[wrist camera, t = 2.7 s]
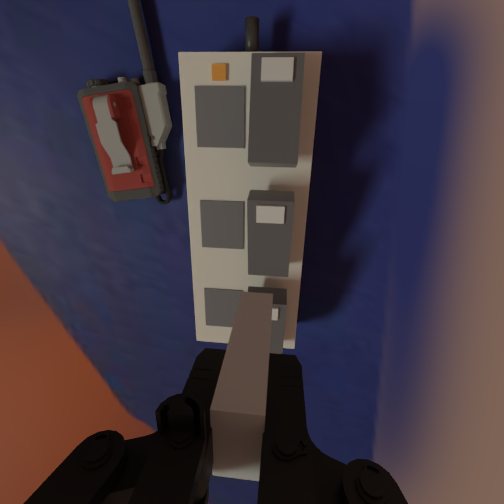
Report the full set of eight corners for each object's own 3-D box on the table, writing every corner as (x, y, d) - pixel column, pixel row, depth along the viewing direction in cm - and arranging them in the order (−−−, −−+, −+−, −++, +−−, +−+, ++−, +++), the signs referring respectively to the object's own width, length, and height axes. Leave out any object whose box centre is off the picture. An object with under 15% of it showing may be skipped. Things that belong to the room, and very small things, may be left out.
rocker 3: (248, 286, 29) (245, 303, 27) (286, 288, 29) (286, 306, 27) (248, 337, 34) (246, 355, 32) (282, 339, 34) (282, 358, 31)
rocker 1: (254, 68, 24) (251, 51, 21) (302, 68, 23) (305, 51, 21) (250, 166, 25) (247, 161, 22) (295, 167, 25) (297, 163, 22)
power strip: (193, 30, 27) (174, 6, 22) (318, 29, 26) (327, 3, 21) (206, 317, 39) (196, 341, 35) (292, 323, 38) (294, 350, 34)
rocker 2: (250, 189, 26) (246, 200, 24) (294, 191, 25) (294, 202, 23) (250, 260, 30) (247, 275, 28) (287, 263, 30) (288, 278, 28)
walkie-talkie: (190, 199, 34) (148, -9, 27) (177, 207, 30) (124, -36, 23) (123, 206, 35) (65, 10, 28) (102, 215, 31) (29, -13, 24)
